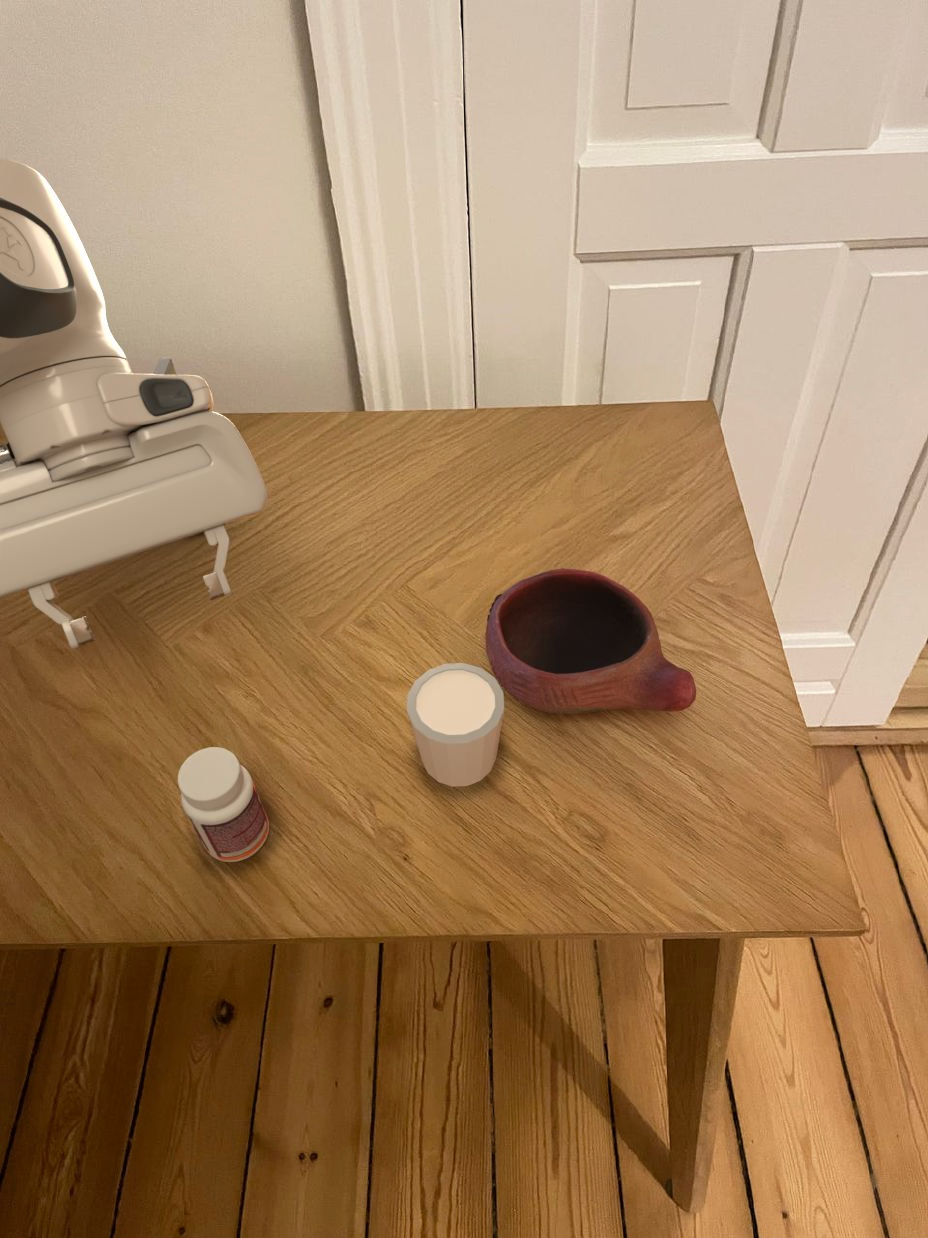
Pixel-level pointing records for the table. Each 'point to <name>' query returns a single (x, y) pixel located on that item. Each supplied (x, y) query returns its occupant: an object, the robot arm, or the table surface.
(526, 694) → the bowl
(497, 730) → the shot glass
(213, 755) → the pill bottle
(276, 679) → the table surface
